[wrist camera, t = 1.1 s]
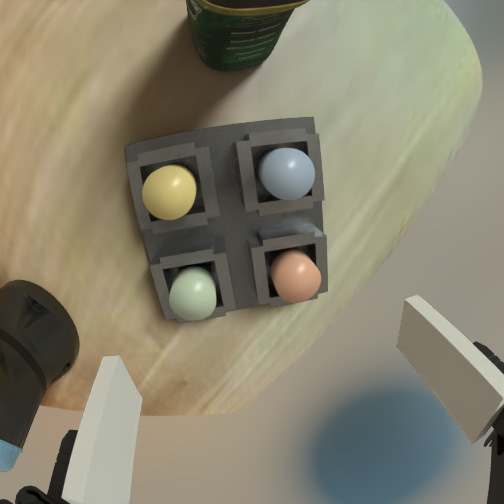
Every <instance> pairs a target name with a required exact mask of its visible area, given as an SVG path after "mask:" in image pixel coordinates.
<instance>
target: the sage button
mask: <svg viewBox="0 0 504 504" xmlns="http://www.w3.org/2000/svg"><path fill="white" fill-rule="evenodd" d="M169 304H170V307H171V309H172V310H173V312H174V313H175V314H176V315H178V316H179V317H181V318H183V319H185V320H189V321H198V320H202V319H205V318H206V317H208V316H209V315H210V314H211V313H212V312H213V311H214V309H215V306H216V285H215V280H214V278H213V276H212V275H211V274H210V273H209V272H208V271H207V270H205V269H203V268H201V267H197V266H190V267H186V268H183V269H181V270H180V271H179V272H178V273H177V274H176V275H175V277H174V279H173V283H172V287H171V291H170V295H169Z"/></svg>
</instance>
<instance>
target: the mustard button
mask: <svg viewBox="0 0 504 504" xmlns="http://www.w3.org/2000/svg"><path fill="white" fill-rule="evenodd" d="M196 193H197V183H196V180H195V177H194V175H193V174H192V173H191V172H190V171H189V170H188V169H187V168H185V167H183V166H181V165H176V164H171V165H166V166H164V167H161V168H159V169H157V170H156V171H154V172H153V173H151V174H150V175H149V176H148V178H147V179H146V181H145V183H144V186H143V190H142V197H143V202H144V204H145V206H146V208H147V209H148V211H149V212H150V213H151V214H152V215H154V216H155V217H157V218H160V219H163V220H174V219H178V218H180V217H182V216H183V215H185V214H186V213H187V212H188V211H189V210H190V208H191V207H192V205H193V203H194V199H195V196H196Z"/></svg>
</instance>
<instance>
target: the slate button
mask: <svg viewBox="0 0 504 504" xmlns="http://www.w3.org/2000/svg"><path fill="white" fill-rule="evenodd" d="M258 177H259V180H260V182H261V184H262V185H263V186H264V188H266V189H267V190H268V191H269V192H270V193H271V194H272V195H274V196H275V197H277V198H279V199H282V200H288V201H290V200H296V199H299V198H301V197H303V196H304V195H305V194H307V193H308V191H309V190H310V189H311V187H312V185H313V183H314V179H315V169H314V166H313V163H312V161H311V160H310V158H309V157H308V156H307V155H306V154H305V153H303V152H302V151H300V150H297V149H292V148H275V149H272V150H270V151H268V152H267V153H266V154H265V155H264V156H263V157H262V159H261V160H260V162H259V166H258Z"/></svg>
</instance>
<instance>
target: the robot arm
mask: <svg viewBox="0 0 504 504" xmlns="http://www.w3.org/2000/svg"><path fill="white" fill-rule="evenodd" d="M397 347H398V349H399V350H400V351H401V352H402V354H403V355H404V356H405V357H406V358H407V360H408V361H409V362H410V364H411V365H412V366H413V367H414V369H415V370H416V371H417V372H418V374H419V375H420V376H421V377H422V379H423V380H424V381H425V382H426V383H427V385H428V386H429V387H430V389H431V390H432V391H433V393H434V394H435V395H436V397H437V398H438V399H439V401H440V402H441V403H442V404H443V406H444V407H445V408H446V410H447V411H448V412H449V414H450V415H451V416H452V418H453V419H454V421H455V422H456V423H457V425H458V426H459V427H460V429H461V430H462V431H463V433H464V434H465V436H466V437H467V438H468V440H469V441H470V443H471V444H473V443H474V442H476V441H477V440H478V439H480V438H481V437H482V436H484V435H485V434H486V432H487V431H488V430H489V428H490V427H491V426H493V428H494V430H493V432H492V433H491V434H490V436H489V437H488V438H487V439H486V441H485V443H484V447H486V446H487V445H488V443H489V442H490V441H491V440H492V442H491V443H490V445H489V446H492V453H491V471H490V483H489V491H488V499H487V504H504V363H503V362H501V361H500V359H499V358H498V357H497V356H495V355H494V353H493V352H492V351H491V350H490V349H488V348H487V347H486V346H484V345H482V344H480V343H478V342H474V343H471V342H470V341H469V340H468V339H467V338H466V337H465V336H464V335H463V334H461V333H460V332H459V331H458V330H457V329H456V328H455V327H454V326H453V325H452V324H451V323H449V322H448V321H447V320H446V319H445V318H444V317H443V316H442V315H440V314H439V313H438V312H437V311H436V310H435V309H434V308H433V307H431V306H430V305H429V304H428V303H427V302H426V301H424V300H423V299H422V298H421V297H420V296H419V295H416V296H413V297H410V298H406V299H405V301H404V308H403V314H402V320H401V326H400V331H399V337H398V342H397ZM78 352H79V337H78V333H77V330H76V327H75V325H74V323H73V321H72V319H71V317H70V316H69V314H68V313H67V311H66V310H65V309H64V307H63V306H62V305H61V304H60V303H59V301H58V300H57V299H56V298H55V297H54V296H52V295H51V294H50V293H49V292H48V291H46V290H45V289H43V288H42V287H40V286H38V285H36V284H34V283H32V282H29V281H24V280H14V281H11V282H8V283H7V284H5V285H4V286H3V287H2V288H1V289H0V472H7V471H10V470H11V469H12V468H13V467H14V465H15V462H16V460H17V458H18V456H19V453H21V452H22V448H23V446H24V443H25V440H26V437H27V435H28V432H29V430H30V427H31V425H32V422H33V420H34V417H35V414H36V412H37V410H38V408H39V405H40V403H41V401H42V398H43V396H44V394H45V392H46V390H47V388H48V387H50V386H51V385H52V384H53V383H54V382H56V381H57V380H58V379H59V378H60V377H62V376H63V375H64V374H65V373H67V372H68V371H69V370H70V368H71V367H72V365H73V364H74V362H75V359H76V357H77V355H78ZM142 400H143V399H142V397H141V395H140V394H139V392H138V390H137V388H136V386H135V385H134V383H133V381H132V379H131V377H130V375H129V373H128V372H127V370H126V368H125V366H124V364H123V362H122V360H121V358H120V356H119V355H118V356H106V357H103V359H102V362H101V365H100V367H99V370H98V373H97V376H96V378H95V381H94V384H93V387H92V390H91V393H90V395H89V398H88V401H87V404H86V407H85V411H84V414H83V417H82V420H81V424H80V427H79V430H69V431H68V433H67V434H66V435H65V437H64V438H63V440H62V442H61V446H60V449H59V453H58V456H57V459H56V460H57V462H56V463H55V466H54V470H53V474H52V478H51V482H50V486H49V490H48V493H47V495H46V494H45V493H43V492H42V491H41V490H39V489H38V488H37V487H34V486H25V487H23V488H22V489H20V490H19V492H18V493H17V495H16V500H15V504H129V501H130V490H131V479H132V470H133V461H134V454H135V446H136V438H137V431H138V425H139V418H140V412H141V406H142ZM0 504H13V503H11V502H10V501H8V500H5V499H1V500H0Z"/></svg>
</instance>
